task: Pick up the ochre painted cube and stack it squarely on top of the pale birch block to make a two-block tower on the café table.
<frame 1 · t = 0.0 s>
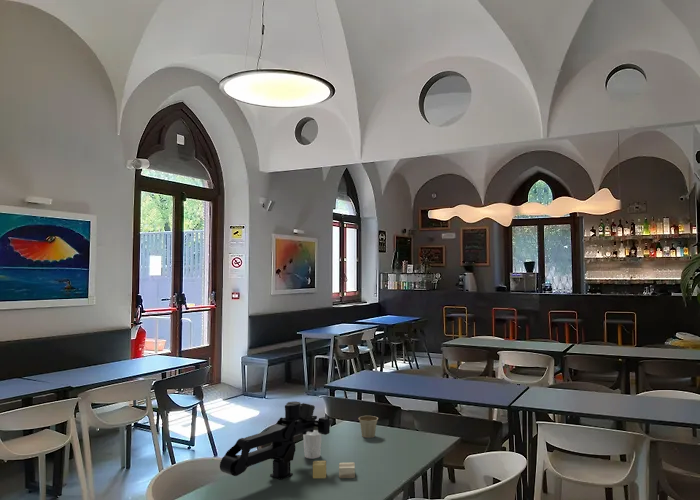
hand: (324, 418, 237), 17 cm above the table, tool horizontal, fingers open, 9 cm apart
birch base block: (347, 475, 216), on the table
white cup: (312, 456, 239), on the table
ochre block: (319, 476, 216), on the table
flower pot: (368, 436, 266), on the table
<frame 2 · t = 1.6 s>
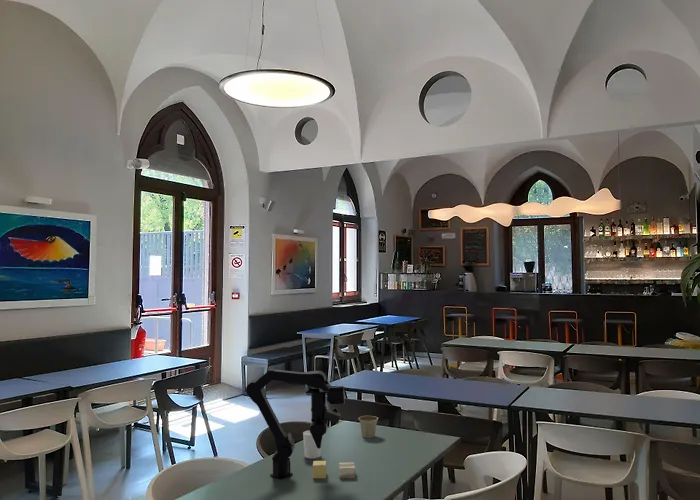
hand: (319, 444, 216), 12 cm above the table, tool pointing down, fingers open, 9 cm apart
nothing on the table moved.
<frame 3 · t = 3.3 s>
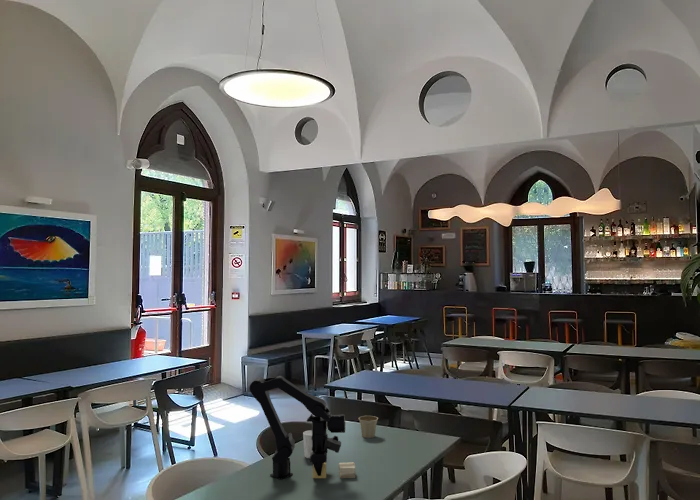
hand: (319, 473, 216), 1 cm above the table, tool pointing down, fingers closed on ochre block, 5 cm apart
ochre block: (319, 475, 216), on the table, touching gripper
everything else where it was.
when the fingers open (6 cm above the table, at t = 6.3 s): ochre block drops 2 cm, point 4 cm above the table.
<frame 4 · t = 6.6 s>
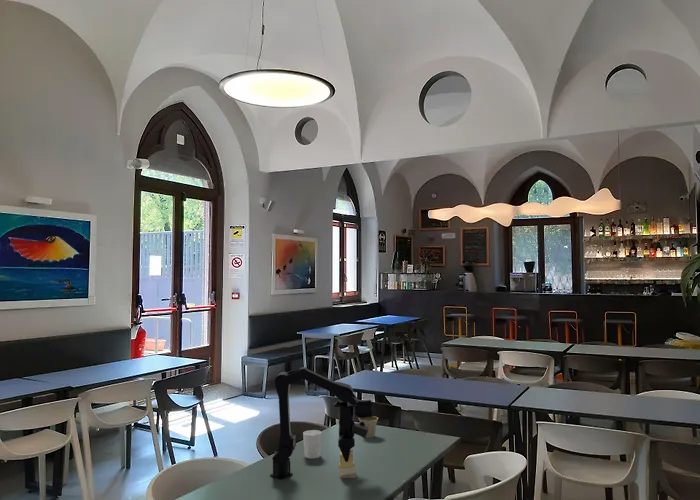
hand: (346, 458, 216), 6 cm above the table, tool pointing down, fingers open, 8 cm apart
ochre block: (346, 465, 216), point 4 cm above the table
everything else where it was.
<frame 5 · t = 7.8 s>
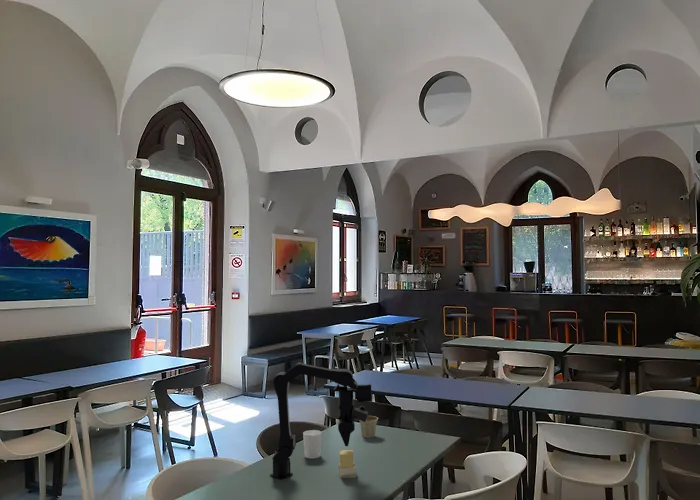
hand: (346, 442, 217), 12 cm above the table, tool pointing down, fingers open, 9 cm apart
nothing on the table moved.
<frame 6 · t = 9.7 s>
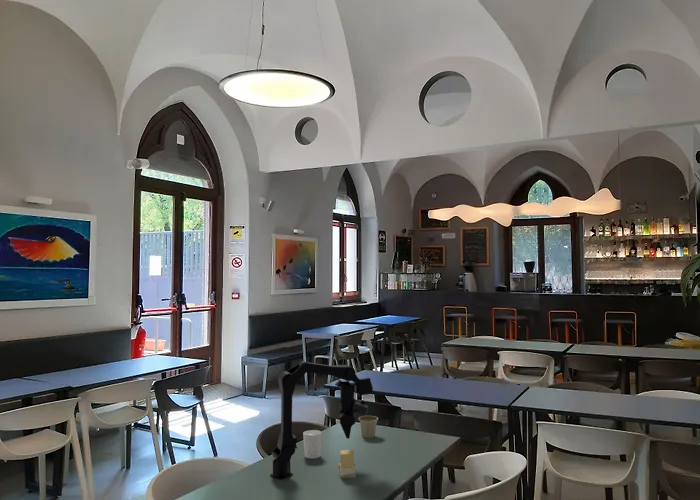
hand: (347, 435, 226), 12 cm above the table, tool pointing down, fingers open, 9 cm apart
birch base block: (347, 475, 216), on the table, touching ochre block
ochre block: (347, 465, 216), point 4 cm above the table, touching birch base block
everything else where it was.
at the end: ochre block 0.2 cm off-centre on the birch base block, point 4.0 cm above the birch base block's base; ochre block tilted 0°; the gripper is holding nothing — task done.
